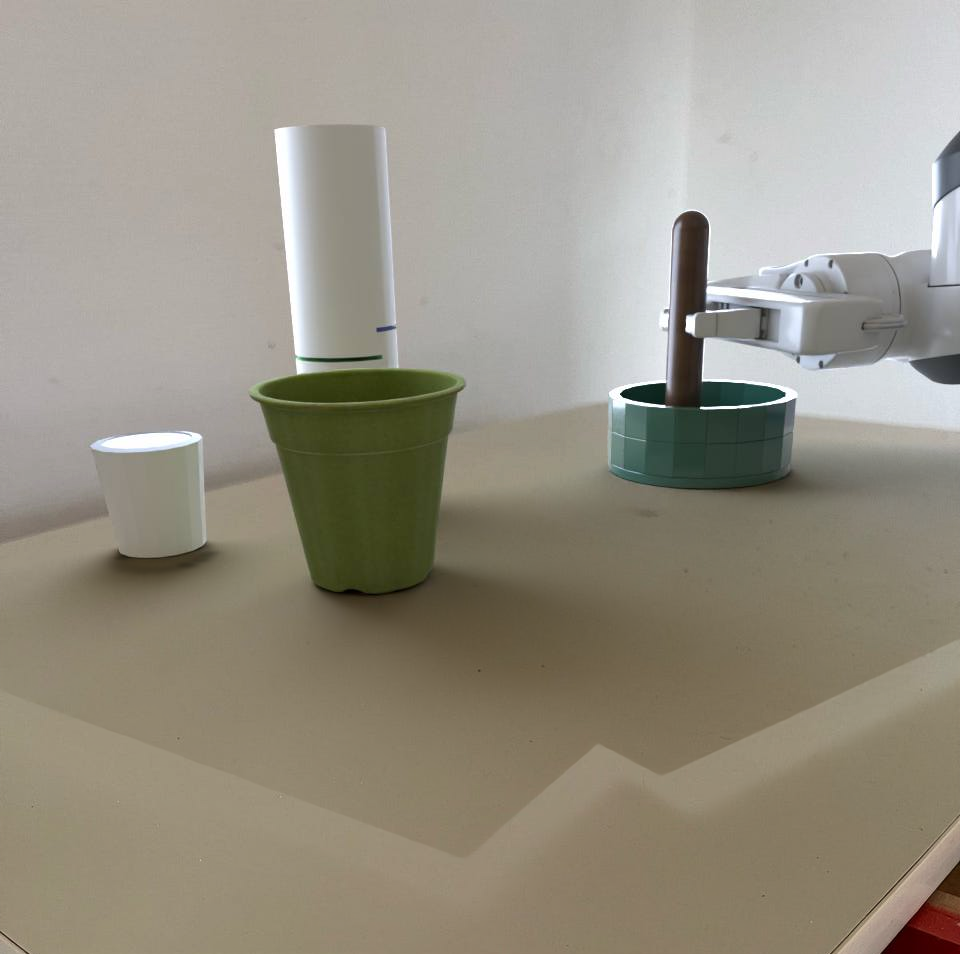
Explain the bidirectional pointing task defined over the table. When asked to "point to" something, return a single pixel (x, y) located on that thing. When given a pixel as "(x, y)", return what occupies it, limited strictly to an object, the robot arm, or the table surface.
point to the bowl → (702, 435)
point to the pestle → (686, 308)
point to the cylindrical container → (338, 245)
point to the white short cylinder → (153, 491)
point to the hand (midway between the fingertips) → (676, 322)
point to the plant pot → (363, 469)
